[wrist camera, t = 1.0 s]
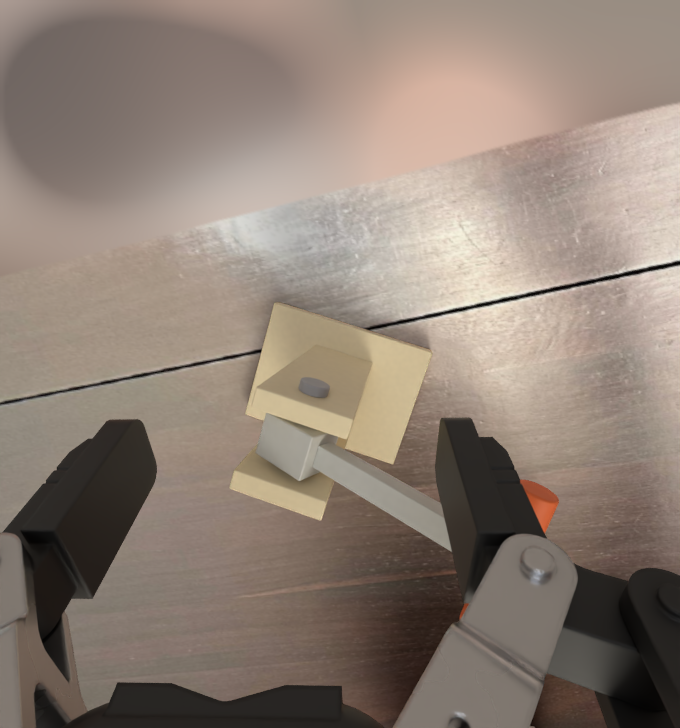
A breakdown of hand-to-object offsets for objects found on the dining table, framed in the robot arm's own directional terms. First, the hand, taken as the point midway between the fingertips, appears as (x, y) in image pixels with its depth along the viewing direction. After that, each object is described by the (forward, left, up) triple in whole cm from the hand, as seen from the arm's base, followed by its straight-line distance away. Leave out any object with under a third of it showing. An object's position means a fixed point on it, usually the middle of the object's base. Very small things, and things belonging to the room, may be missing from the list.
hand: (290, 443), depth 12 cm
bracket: (+3, -1, -21) cm, 21 cm away
